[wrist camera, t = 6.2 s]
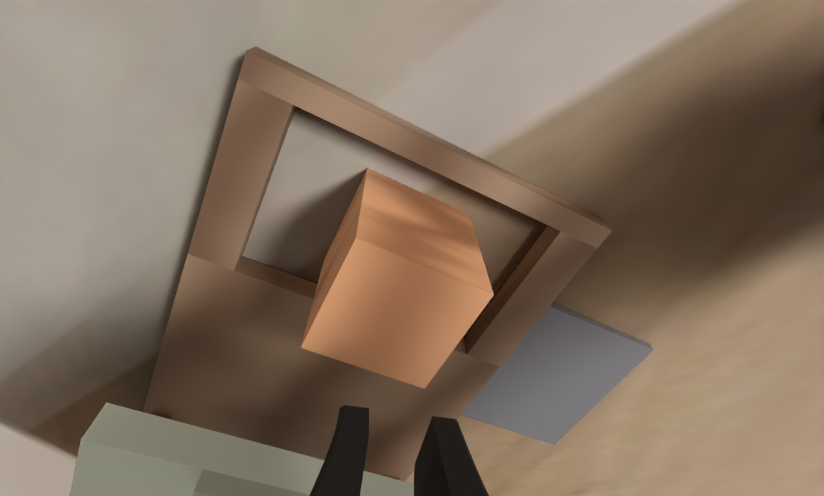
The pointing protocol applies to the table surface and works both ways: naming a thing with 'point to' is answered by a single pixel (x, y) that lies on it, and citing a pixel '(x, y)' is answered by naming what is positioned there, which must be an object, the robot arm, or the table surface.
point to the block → (397, 283)
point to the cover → (193, 462)
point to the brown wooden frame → (293, 296)
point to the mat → (556, 375)
